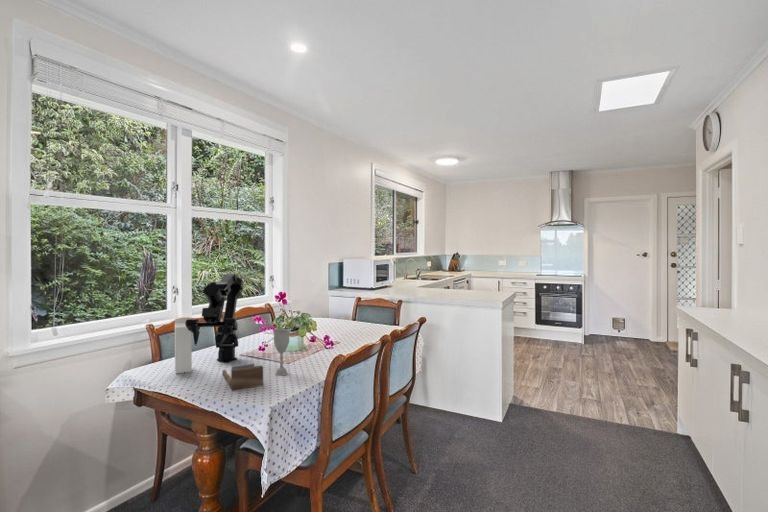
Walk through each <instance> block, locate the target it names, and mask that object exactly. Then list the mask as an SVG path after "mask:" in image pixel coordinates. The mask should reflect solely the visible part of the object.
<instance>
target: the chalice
mask: <svg viewBox="0 0 768 512" xmlns="http://www.w3.org/2000/svg"><path fill="white" fill-rule="evenodd" d="M272 332H273V343H274V347H275V349H276V351H277V353H279V354H280V355H279V364H280V366H279V367H278V368H276V371H275V373H274V375H275V376H277V377H283V376H287V375H288V373H289V372H288V371H287V368H286V367H284V358H285V357H284V353H286V351H287V348H288V346H289V343H290V332H291V329H290V328H275V329H273V330H272Z"/></svg>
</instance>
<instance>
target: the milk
mask: <svg viewBox="0 0 768 512" xmlns="http://www.w3.org/2000/svg"><path fill="white" fill-rule="evenodd" d="M187 319H192V318H191V317H182V318H181V317H179V318H175V319H174V373H175V374H176V373H178V374H183V373H184V372H185V373H191V372H192V367H193V363H192V358H193V357H192V356H193V355H192V347H193V346H192V332H191V331H189V330H188V328H187V327H186V325H185V323H186V320H187Z"/></svg>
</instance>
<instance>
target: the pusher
mask: <svg viewBox="0 0 768 512" xmlns="http://www.w3.org/2000/svg"><path fill="white" fill-rule="evenodd" d="M248 367H255V363H248V364H247V363H246V364H240V365H239V364H238V365H232V366H231V370H234V369H241V368H248ZM231 370H230V371H231Z"/></svg>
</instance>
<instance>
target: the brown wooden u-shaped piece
mask: <svg viewBox="0 0 768 512" xmlns="http://www.w3.org/2000/svg"><path fill="white" fill-rule="evenodd" d="M230 372H231V373H230V374H229V373H228V372H227V370H226V369H222V373H221V374H222V376H223V378H224V380H225V381H226V383H227V385H228V386H229V387H230V389H231V391H237V390H243V389H249V388H255V387H256V388H257V387H261V386H263V385H264V365H256V366H255V365H254V367H248V368H241V369H234V370H230Z"/></svg>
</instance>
